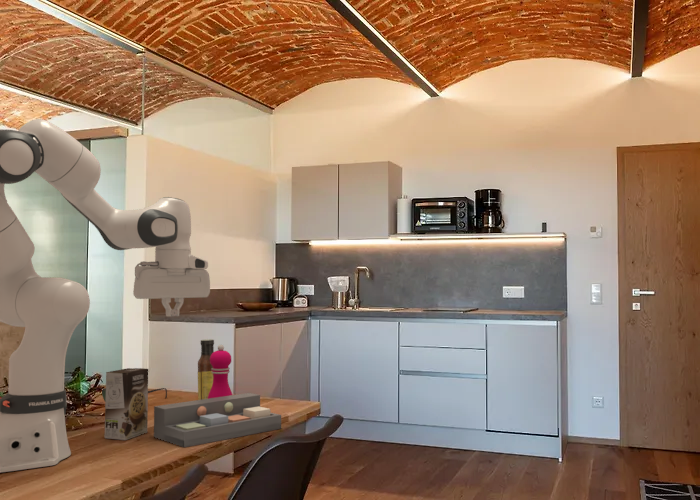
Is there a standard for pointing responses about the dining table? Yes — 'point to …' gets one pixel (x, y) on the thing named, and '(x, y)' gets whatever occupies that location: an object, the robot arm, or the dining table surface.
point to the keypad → (192, 410)
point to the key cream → (256, 412)
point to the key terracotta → (237, 418)
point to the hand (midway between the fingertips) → (172, 316)
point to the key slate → (213, 419)
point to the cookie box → (126, 403)
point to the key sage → (190, 426)
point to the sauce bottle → (205, 369)
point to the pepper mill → (220, 373)
